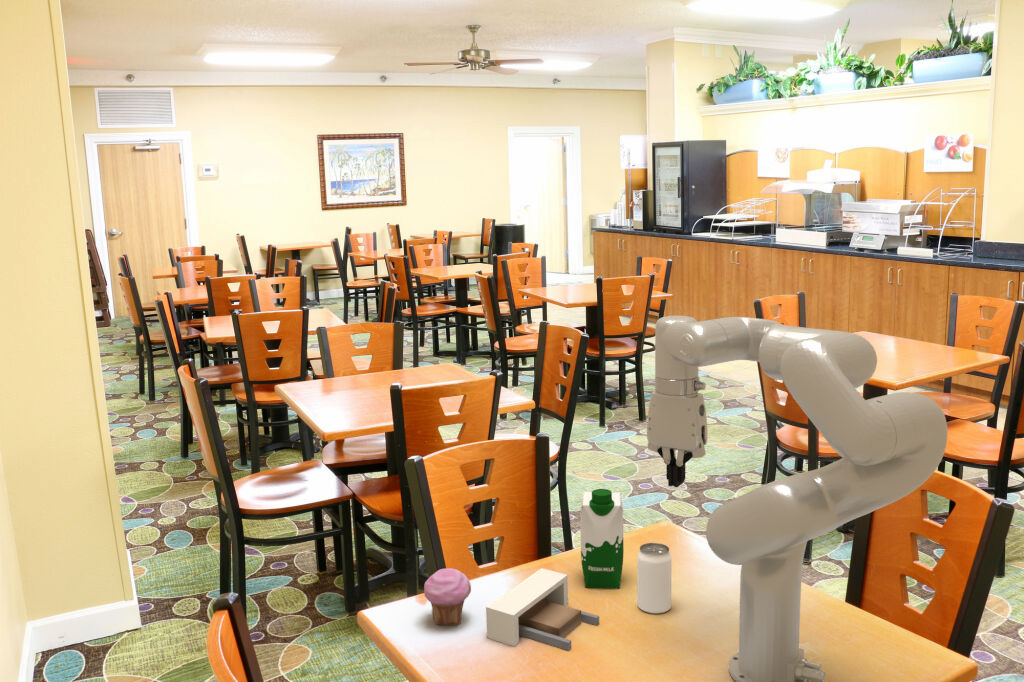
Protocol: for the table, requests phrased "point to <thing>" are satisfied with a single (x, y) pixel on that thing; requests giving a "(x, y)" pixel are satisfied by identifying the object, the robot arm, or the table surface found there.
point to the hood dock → (521, 599)
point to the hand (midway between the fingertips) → (675, 484)
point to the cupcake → (447, 595)
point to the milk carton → (602, 538)
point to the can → (654, 578)
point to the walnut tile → (551, 618)
